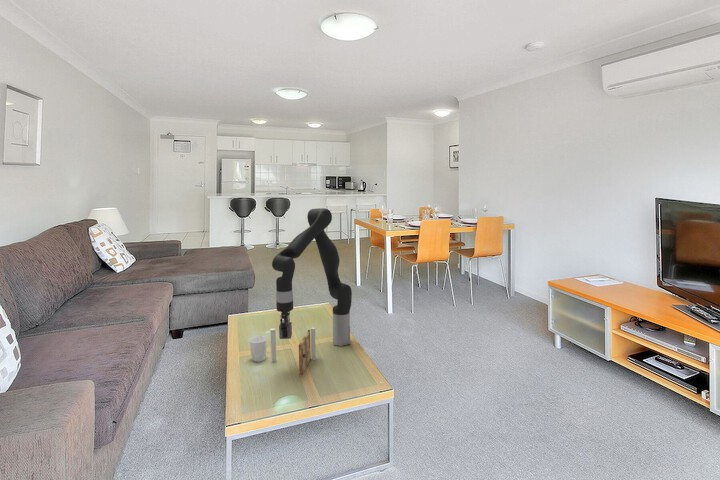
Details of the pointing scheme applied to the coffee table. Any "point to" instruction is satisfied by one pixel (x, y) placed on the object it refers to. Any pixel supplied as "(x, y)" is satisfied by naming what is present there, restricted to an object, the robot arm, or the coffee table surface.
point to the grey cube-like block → (289, 331)
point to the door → (304, 352)
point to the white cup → (258, 348)
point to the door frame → (273, 344)
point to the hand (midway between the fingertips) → (285, 335)
